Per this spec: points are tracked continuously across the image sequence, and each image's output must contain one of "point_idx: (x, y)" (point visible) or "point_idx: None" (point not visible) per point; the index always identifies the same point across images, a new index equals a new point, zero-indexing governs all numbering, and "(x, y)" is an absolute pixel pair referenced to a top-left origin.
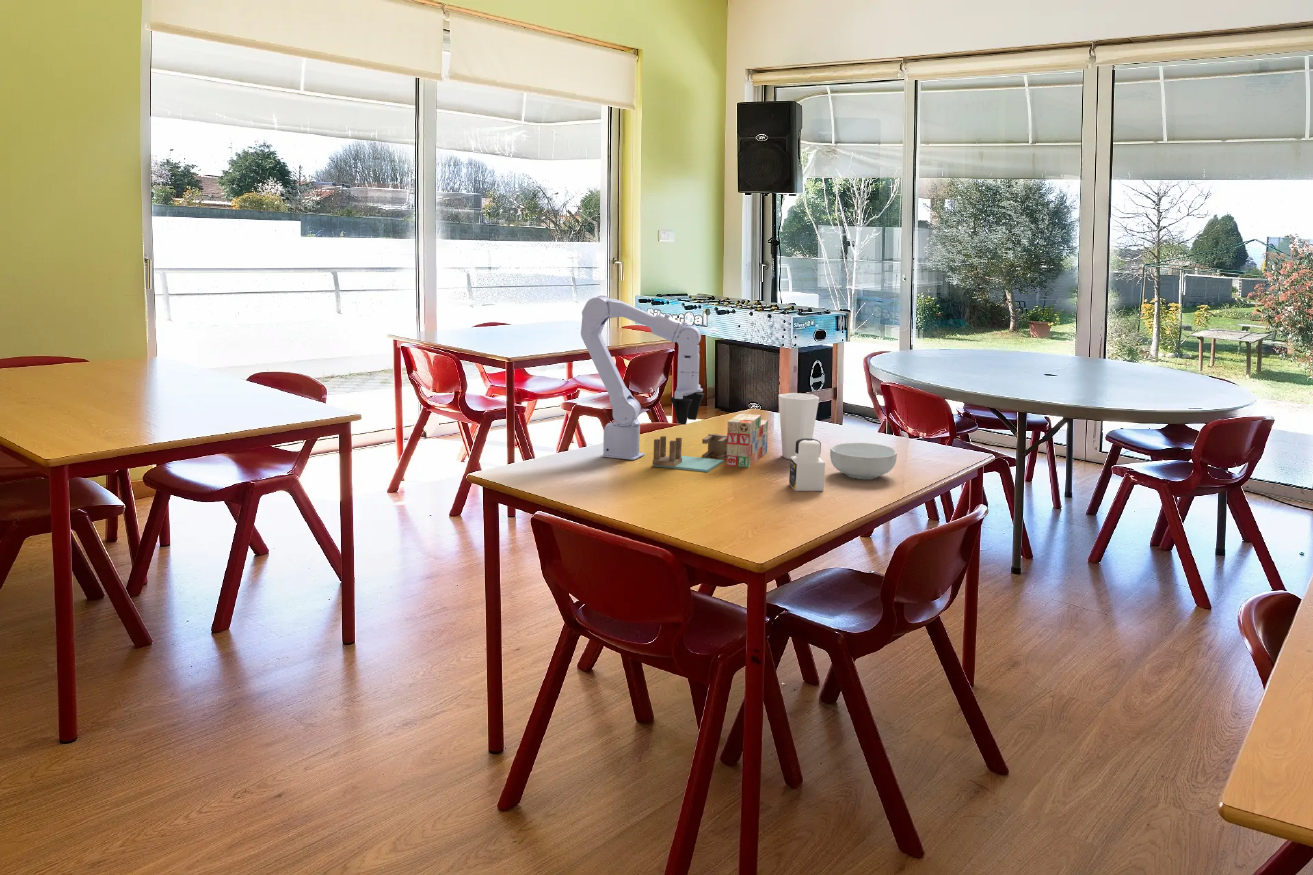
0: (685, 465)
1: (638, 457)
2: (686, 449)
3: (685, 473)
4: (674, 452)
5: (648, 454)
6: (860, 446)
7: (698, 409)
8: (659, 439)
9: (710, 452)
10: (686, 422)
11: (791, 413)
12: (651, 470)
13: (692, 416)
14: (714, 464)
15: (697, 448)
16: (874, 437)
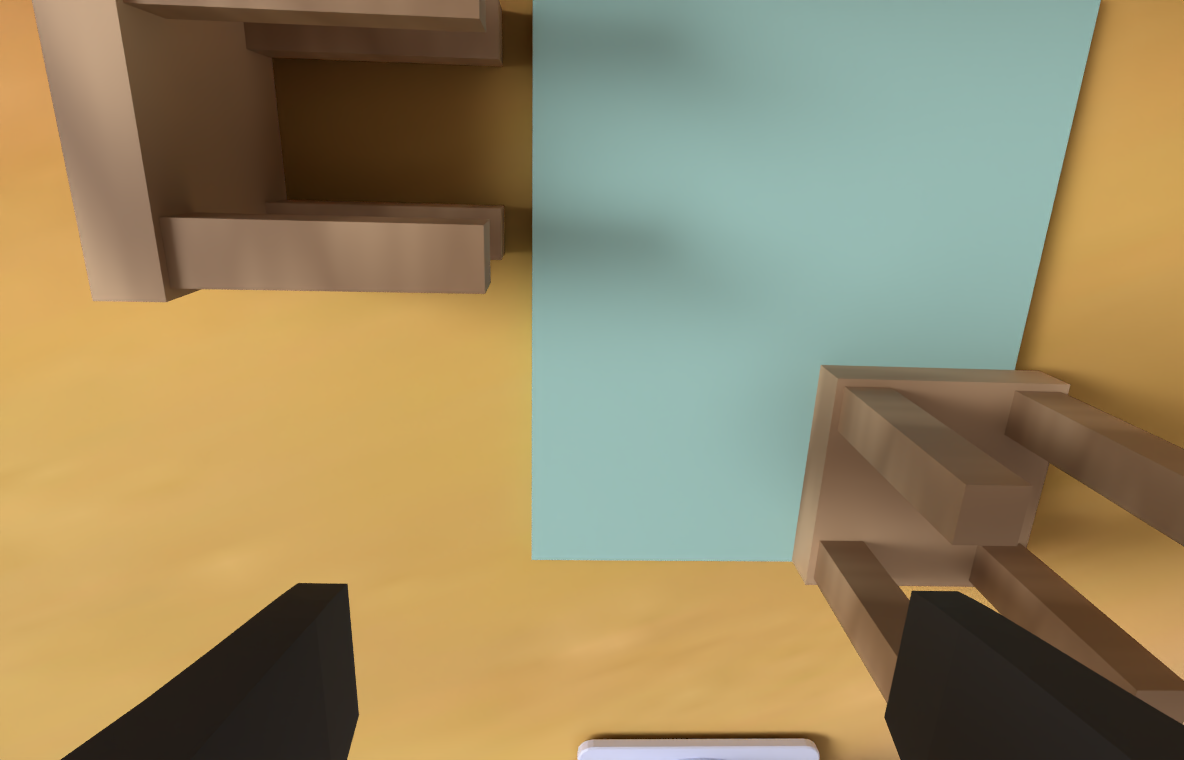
0: (949, 288)
1: (723, 740)
2: (151, 530)
3: (1175, 205)
4: (1113, 427)
5: (535, 722)
6: None
7: (100, 735)
8: (1152, 690)
9: (340, 206)
10: (935, 604)
11: None
12: (1115, 512)
13: (329, 689)
14: (806, 1)
15: (35, 455)
16: None
